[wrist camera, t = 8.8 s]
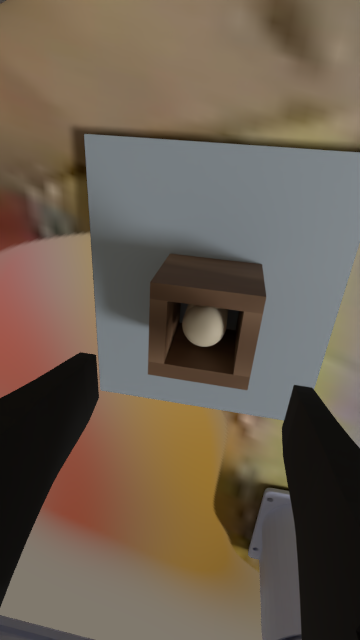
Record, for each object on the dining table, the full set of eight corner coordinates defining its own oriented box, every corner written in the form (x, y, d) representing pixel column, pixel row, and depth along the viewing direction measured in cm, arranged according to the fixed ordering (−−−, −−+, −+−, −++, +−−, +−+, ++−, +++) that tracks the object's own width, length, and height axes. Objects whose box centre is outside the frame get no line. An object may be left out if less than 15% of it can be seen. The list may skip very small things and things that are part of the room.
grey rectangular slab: (300, 410, 23) (314, 476, 19) (106, 379, 25) (75, 433, 21) (377, 153, 16) (431, 157, 11) (93, 134, 18) (39, 131, 13)
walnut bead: (247, 343, 20) (247, 390, 17) (165, 332, 21) (147, 374, 17) (262, 264, 18) (266, 297, 14) (169, 253, 19) (150, 282, 15)
